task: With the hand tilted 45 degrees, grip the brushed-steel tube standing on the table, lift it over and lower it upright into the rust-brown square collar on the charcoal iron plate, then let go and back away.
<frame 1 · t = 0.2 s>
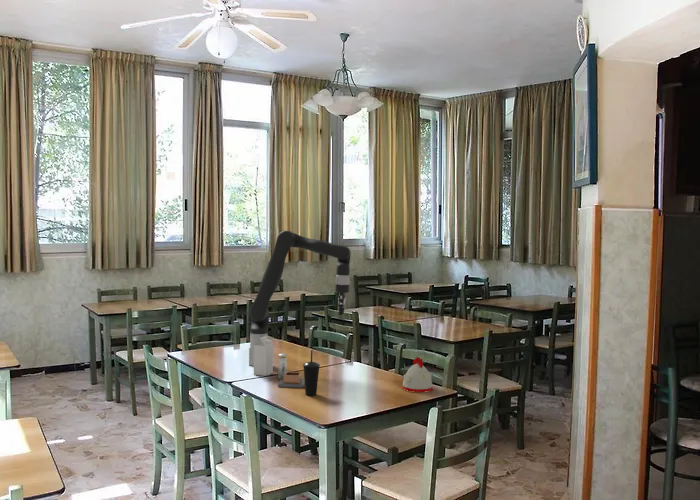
hand: (341, 313, 334), 29 cm above the table, tool pointing down, fingers open, 8 cm apart
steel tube: (282, 378, 310), on the table
collar plate: (292, 384, 298), on the table
kitchen timer: (417, 389, 295), on the table
drinking cup: (310, 395, 281), on the table
milk carton: (263, 374, 317), on the table
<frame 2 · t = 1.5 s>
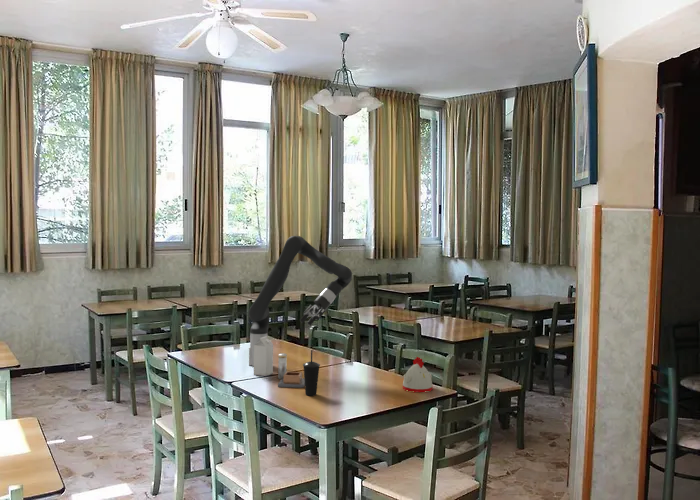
hand: (304, 323, 315), 27 cm above the table, tool tilted 45°, fingers open, 8 cm apart
nothing on the table moved.
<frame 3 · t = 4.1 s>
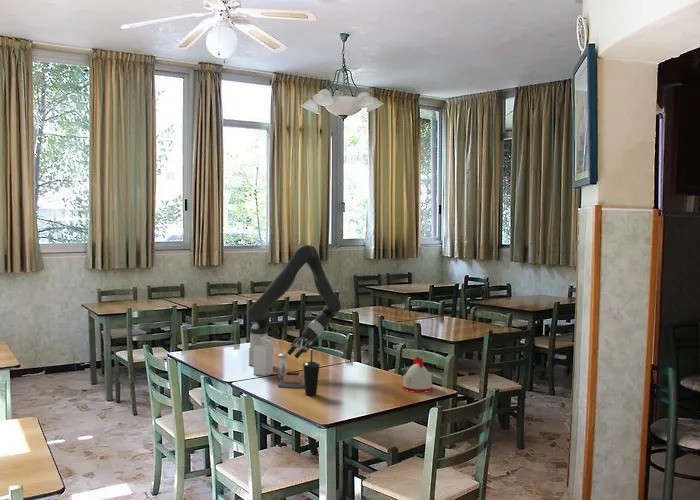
hand: (292, 355, 312), 11 cm above the table, tool tilted 45°, fingers open, 8 cm apart
nothing on the table moved.
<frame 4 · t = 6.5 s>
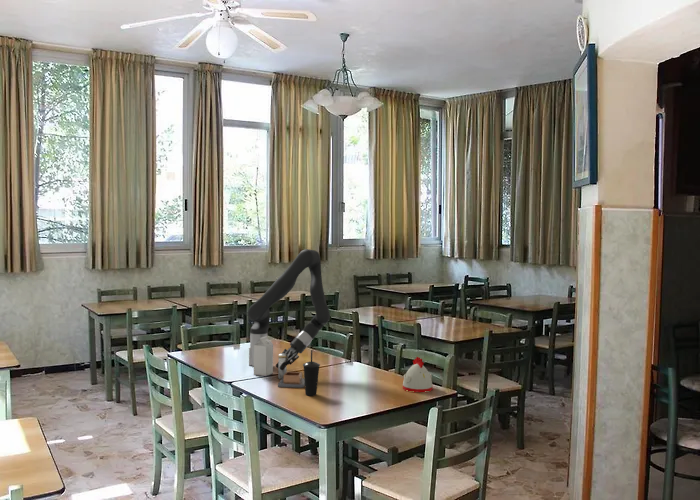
hand: (278, 368, 308), 5 cm above the table, tool tilted 45°, fingers closed on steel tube, 4 cm apart
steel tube: (282, 378, 310), on the table, touching gripper
everything else where it was.
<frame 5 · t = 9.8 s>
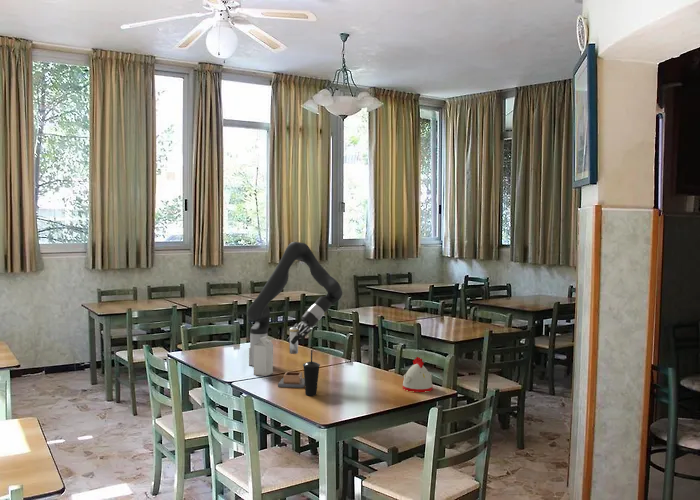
hand: (290, 342, 297), 20 cm above the table, tool tilted 45°, fingers closed on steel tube, 4 cm apart
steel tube: (293, 353, 298), point 15 cm above the table, touching gripper
everything else where it was.
when the fingers open (8 cm above the table, at t = 13.5 s): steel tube drops 1 cm, resting on collar plate.
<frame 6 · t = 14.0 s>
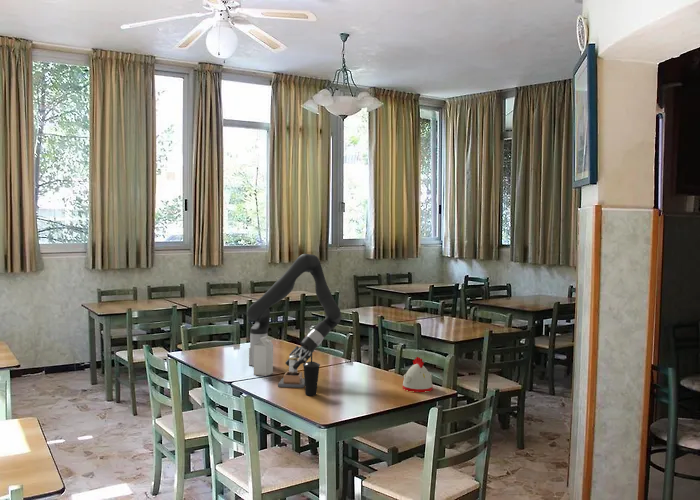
hand: (290, 366, 297), 9 cm above the table, tool tilted 45°, fingers open, 8 cm apart
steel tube: (292, 381, 298), point 2 cm above the table, touching collar plate
everything else where it was.
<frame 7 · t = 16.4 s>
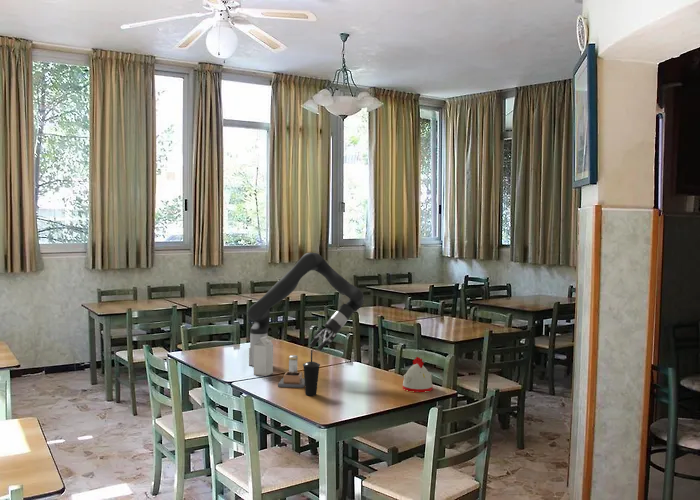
hand: (315, 347, 303), 17 cm above the table, tool tilted 45°, fingers open, 8 cm apart
nothing on the table moved.
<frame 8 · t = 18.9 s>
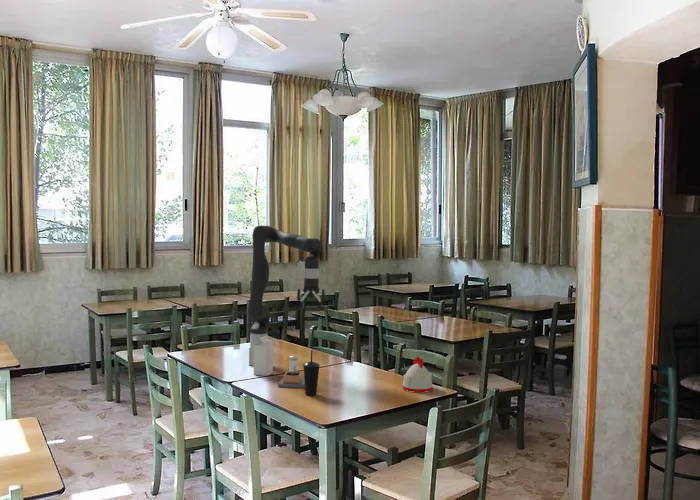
hand: (310, 308, 321), 33 cm above the table, tool pointing down, fingers open, 8 cm apart
nothing on the table moved.
at the end: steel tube 0.2 cm off-centre on the collar plate, point 1.5 cm above the collar plate's base; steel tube tilted 1°; the gripper is holding nothing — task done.
